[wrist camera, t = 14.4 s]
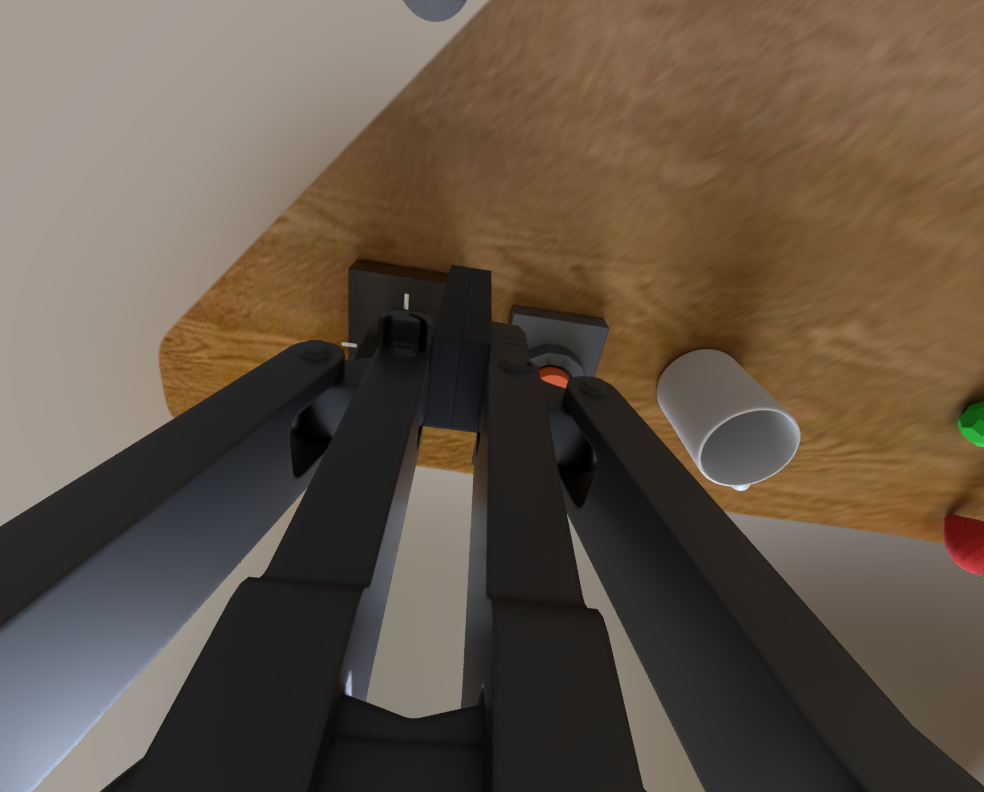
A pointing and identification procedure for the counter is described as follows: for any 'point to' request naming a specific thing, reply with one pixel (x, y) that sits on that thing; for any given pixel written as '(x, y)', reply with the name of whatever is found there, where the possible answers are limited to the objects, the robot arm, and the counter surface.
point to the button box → (562, 339)
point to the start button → (554, 376)
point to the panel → (388, 296)
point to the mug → (726, 419)
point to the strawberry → (965, 542)
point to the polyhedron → (973, 424)
